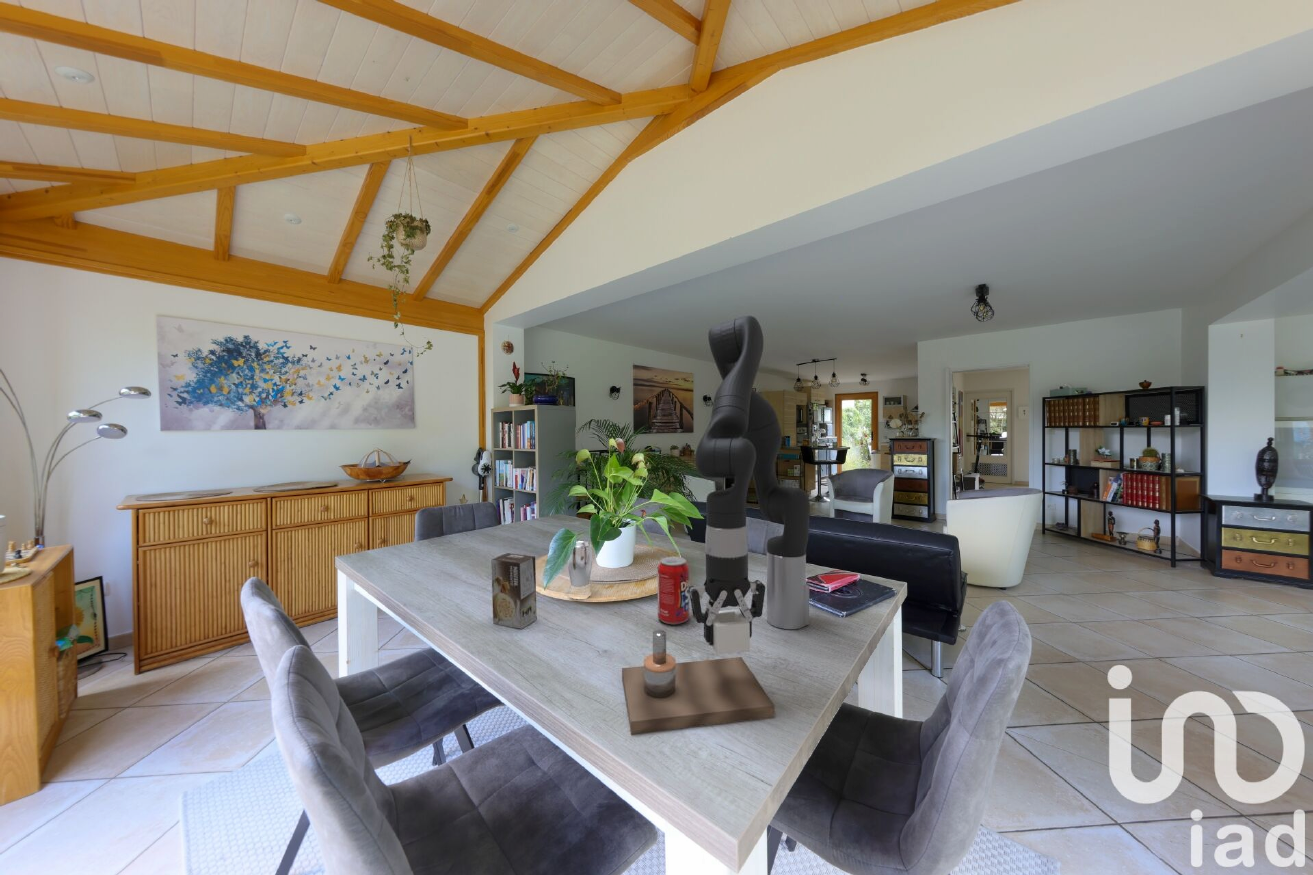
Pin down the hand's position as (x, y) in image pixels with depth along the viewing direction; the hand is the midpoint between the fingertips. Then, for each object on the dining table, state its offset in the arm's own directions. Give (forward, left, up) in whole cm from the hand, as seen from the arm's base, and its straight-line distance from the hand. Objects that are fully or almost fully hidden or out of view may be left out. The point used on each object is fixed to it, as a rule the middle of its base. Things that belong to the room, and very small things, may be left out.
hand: (727, 641), depth 83 cm
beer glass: (+26, -52, -10) cm, 59 cm away
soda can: (+3, -32, -10) cm, 34 cm away
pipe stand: (+7, 0, -10) cm, 12 cm away
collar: (0, 0, -1) cm, 1 cm away
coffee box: (+43, -38, -10) cm, 58 cm away
